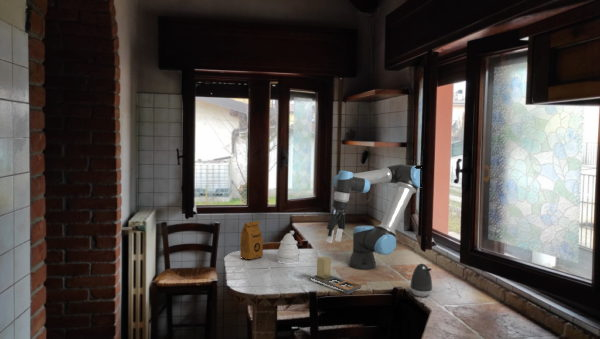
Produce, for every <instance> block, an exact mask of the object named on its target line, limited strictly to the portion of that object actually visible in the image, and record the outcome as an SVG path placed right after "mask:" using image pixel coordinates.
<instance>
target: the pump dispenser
mask: <svg viewBox="0 0 600 339" xmlns="http://www.w3.org/2000/svg"><path fill="white" fill-rule="evenodd" d="M430 271H432V267H428V265H426V264H425V263H419V264H417V265H416V267H415V268H414V270H413V273H412V275H411V279H410V282H409V284H410V285H409V286H410V290H411V292H412V293H413V295H414V296H417V297H422V298H424V297H427V296H429V295H430V294H431V292H432V290H433V280H432V276H431V275H432V274H431V272H430Z"/></svg>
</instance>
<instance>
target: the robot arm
mask: <svg viewBox="0 0 600 339" xmlns="http://www.w3.org/2000/svg"><path fill="white" fill-rule="evenodd" d="M416 166H417V165H407V164H394V165H388V166H383V167H382V168H381V169H375V170H369V171H368V170H367V171H363V172H357V173H356V172H355V173H353V172H352V171H348V170H339V171H338V174H336V175H334V178H333V179H332V180H333V181H332V183H333V185H334V187H335V190H334V193H333V195H334V196H333V199H334V200H333V201H332V208H335V209H331V210H332V211H331V214H330V218H329V221H328V224H327V226H326V229H327V236H326V241H325V242H326V243H329V244H332V243H333V238H334V234H335V227H336V224H337V227H338V228H337V230H336V234H335V239H334V240H335V241H336V242H338V243H339V242H342V241H341V240H342V235H343V230H346V228H345V225H346V221H345V220H346V210H347V209H348V205H349V203H348V202H349V199H350V194H351V192H356V193H360V194H362V193H363V194H366V193H368V192H369V190H370V189H371V185H375V184H382V183H384V184H396V185H397V189H396V191H395V192H394V195H393V198H392V200H391V201H390V203H389V205H388V208H387V209H386V212H385V214H384V216H383V218H382V220H381V223H380V224H378V225H376V226H373V225H358V226H355V227H354V228H353V238H352V240H353V241H352V242H353V243H352V253H351V256H350V259H349V267H351V268H354V269H358V270H372V269H375V268H376V266H377V262H376V259H375V255H374V253H375V254H378V255H383V256H388V255H390V254H392V253H393V252H394V251H395V249H396V247H397V239H396V235H397V234H396V230H397V227H398V226H399V223H400V221H401V219H402V217H403V215H404V213H405V210H406V209H407V208H406V207H407V206H408V203H409V201H410V199H411V198H412V195H413V194H415V193H417V191H418V189H420V188H421V187H420V169H416V168H415V167H416Z"/></svg>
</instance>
